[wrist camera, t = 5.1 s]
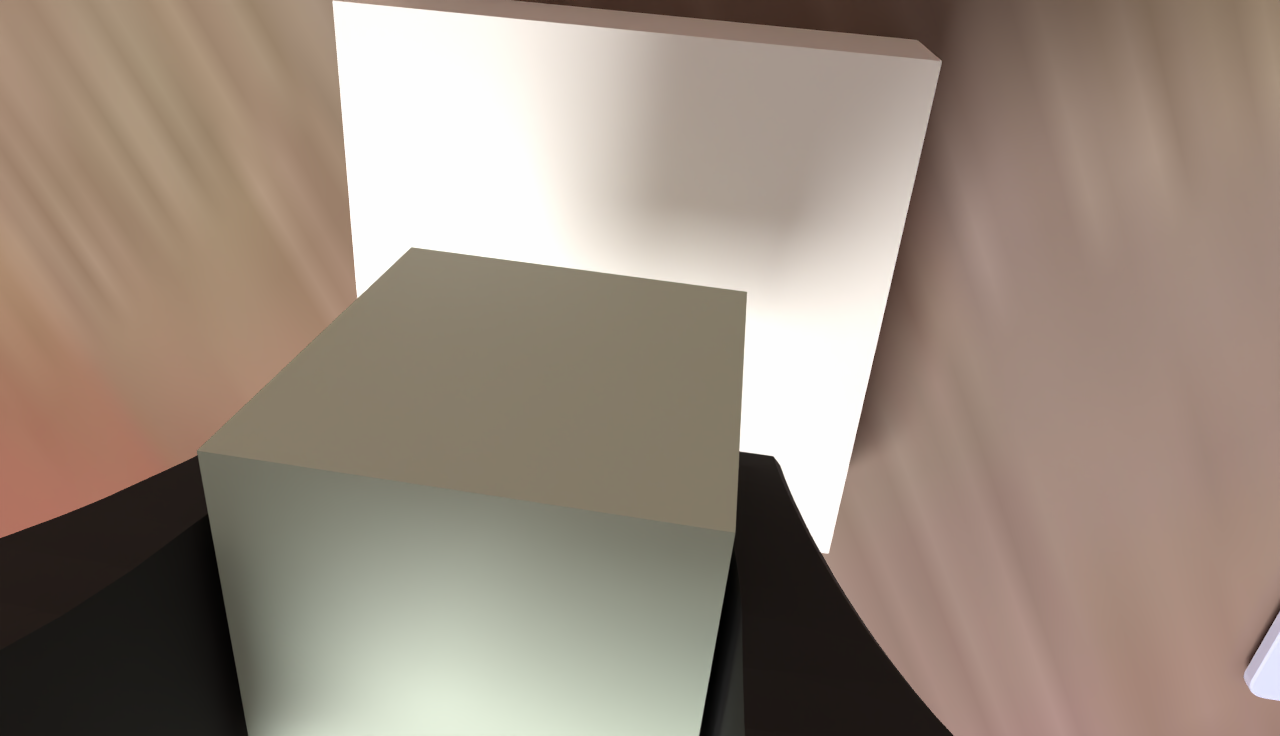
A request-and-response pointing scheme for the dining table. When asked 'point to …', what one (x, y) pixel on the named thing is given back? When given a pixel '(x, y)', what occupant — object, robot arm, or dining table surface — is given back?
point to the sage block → (486, 507)
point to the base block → (655, 177)
